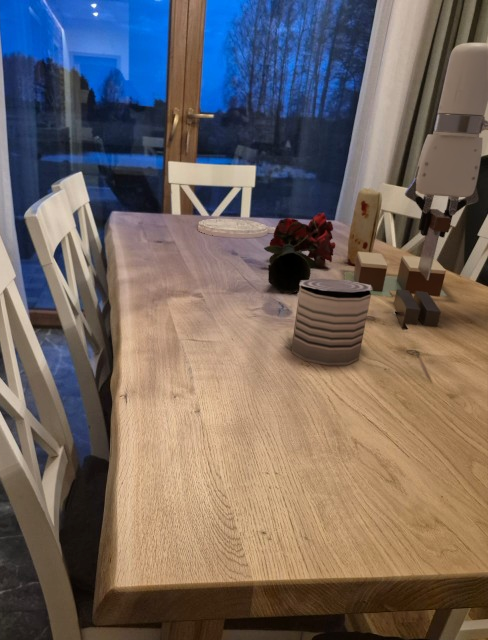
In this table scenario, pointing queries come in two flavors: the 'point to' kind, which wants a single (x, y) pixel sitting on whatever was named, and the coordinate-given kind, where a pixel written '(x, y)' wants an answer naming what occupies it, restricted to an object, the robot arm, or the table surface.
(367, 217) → the food model
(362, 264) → the cake slice
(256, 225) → the medallion
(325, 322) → the can
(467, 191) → the robot arm
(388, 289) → the green flat square board
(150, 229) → the table surface
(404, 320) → the knife block
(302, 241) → the rose vase
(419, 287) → the cake
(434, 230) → the knife
